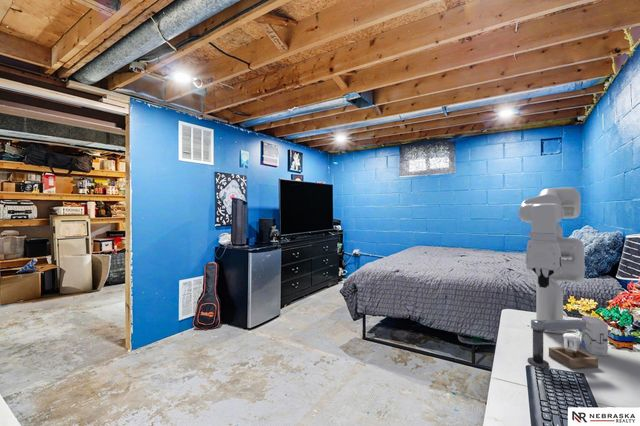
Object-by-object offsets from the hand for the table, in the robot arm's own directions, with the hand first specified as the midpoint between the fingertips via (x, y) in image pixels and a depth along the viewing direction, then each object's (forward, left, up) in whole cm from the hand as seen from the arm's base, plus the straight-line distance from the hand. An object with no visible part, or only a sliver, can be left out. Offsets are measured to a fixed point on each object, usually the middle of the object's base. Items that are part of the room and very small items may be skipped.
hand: (543, 286), depth 112 cm
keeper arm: (+1, +7, -13) cm, 15 cm away
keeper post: (+8, +6, -25) cm, 27 cm away
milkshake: (-5, +7, -24) cm, 26 cm away
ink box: (-21, -1, -25) cm, 33 cm away
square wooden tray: (-5, +6, -25) cm, 26 cm away
